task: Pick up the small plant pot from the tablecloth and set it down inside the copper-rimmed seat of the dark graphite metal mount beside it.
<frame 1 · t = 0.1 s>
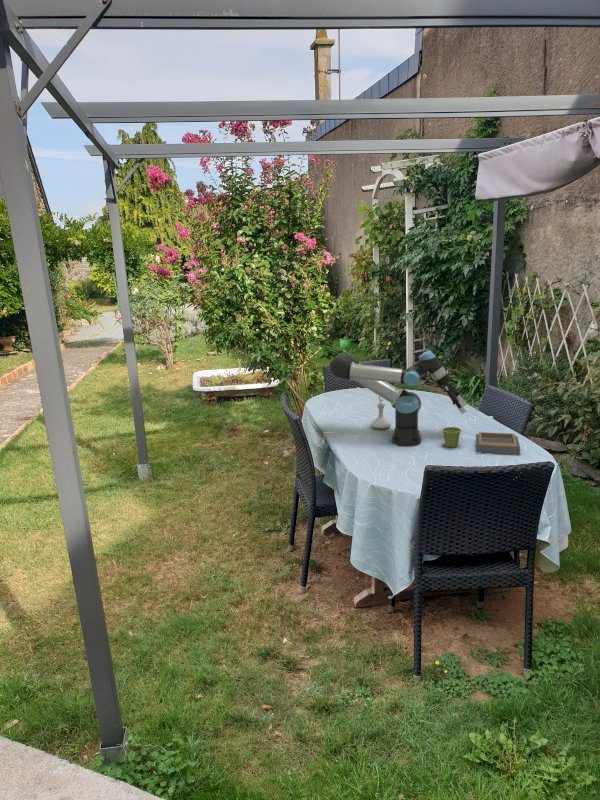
hand: (464, 409, 301), 15 cm above the table, tool tilted 35°, fingers open, 13 cm apart
flower in vase: (381, 427, 327), on the table
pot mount: (496, 448, 285), on the table
plant pot: (451, 446, 291), on the table
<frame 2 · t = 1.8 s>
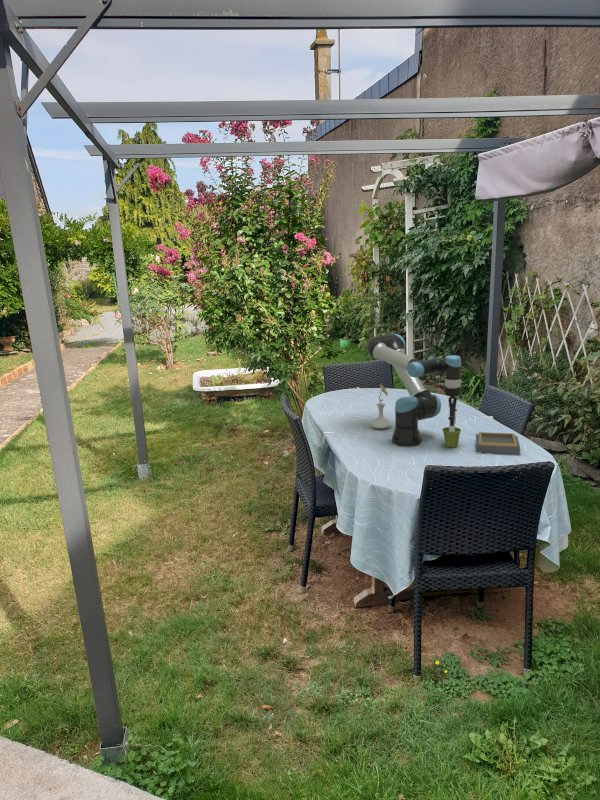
hand: (452, 427, 288), 10 cm above the table, tool pointing down, fingers open, 13 cm apart
nothing on the table moved.
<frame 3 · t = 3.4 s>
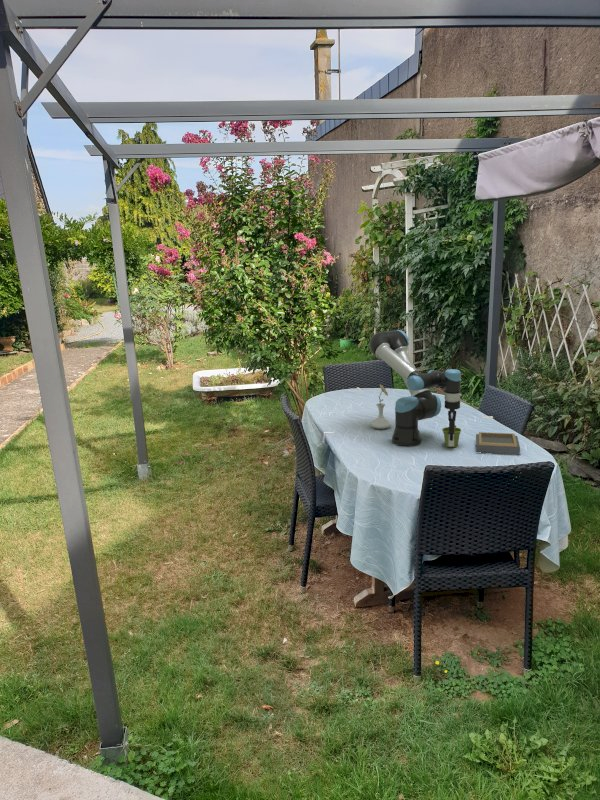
hand: (451, 442, 291), 2 cm above the table, tool pointing down, fingers closed on plant pot, 9 cm apart
plant pot: (451, 446, 291), on the table, touching gripper
everything else where it was.
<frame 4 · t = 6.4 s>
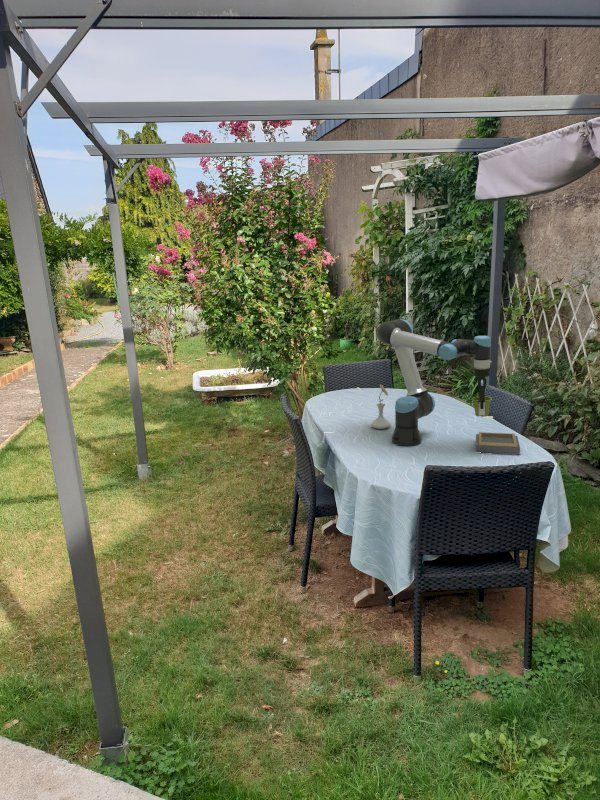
hand: (481, 412, 282), 18 cm above the table, tool pointing down, fingers closed on plant pot, 9 cm apart
plant pot: (481, 415, 282), point 17 cm above the table, touching gripper
everything else where it was.
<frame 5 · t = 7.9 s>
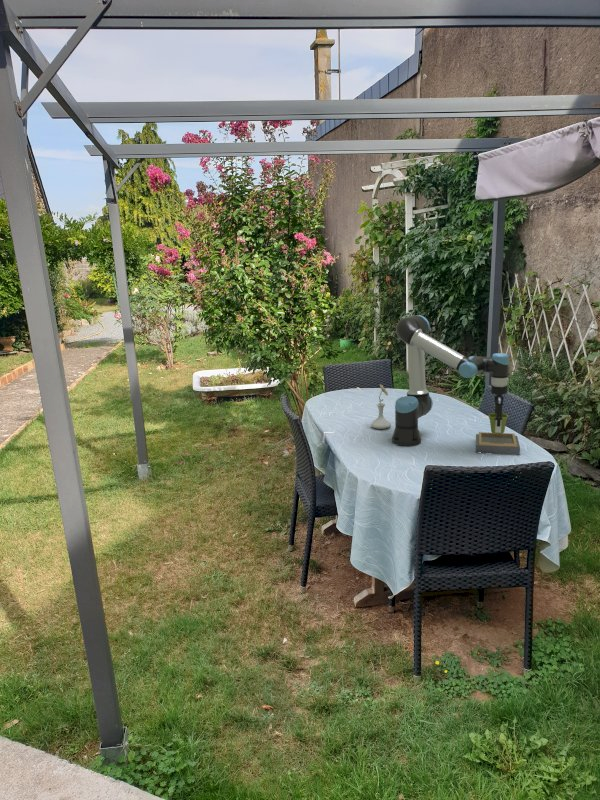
hand: (497, 429, 282), 10 cm above the table, tool pointing down, fingers closed on plant pot, 9 cm apart
plant pot: (497, 432, 283), point 8 cm above the table, touching gripper
everything else where it was.
when the fingers open (6 cm above the table, at t = 9.2 s): plant pot stays where it is, resting on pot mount.
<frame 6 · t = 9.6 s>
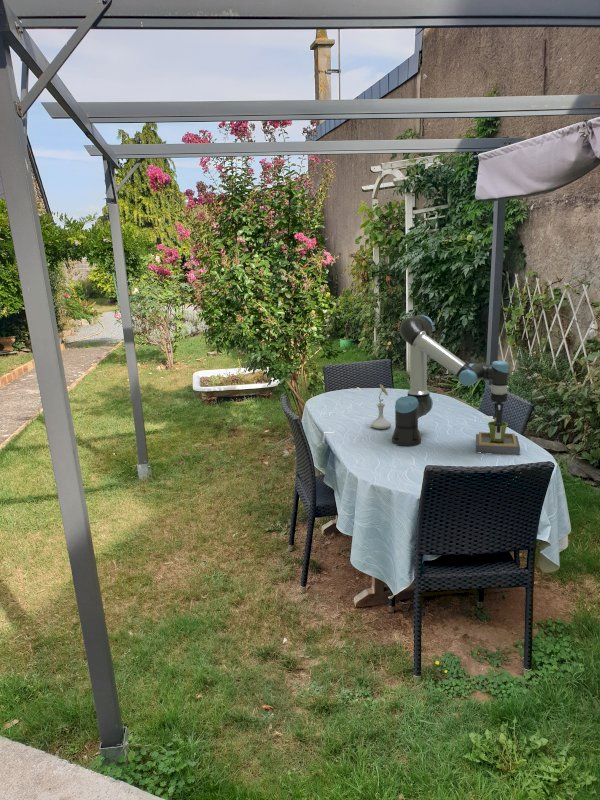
hand: (497, 434, 283), 7 cm above the table, tool pointing down, fingers open, 13 cm apart
plant pot: (497, 440, 284), point 4 cm above the table, touching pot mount
everything else where it was.
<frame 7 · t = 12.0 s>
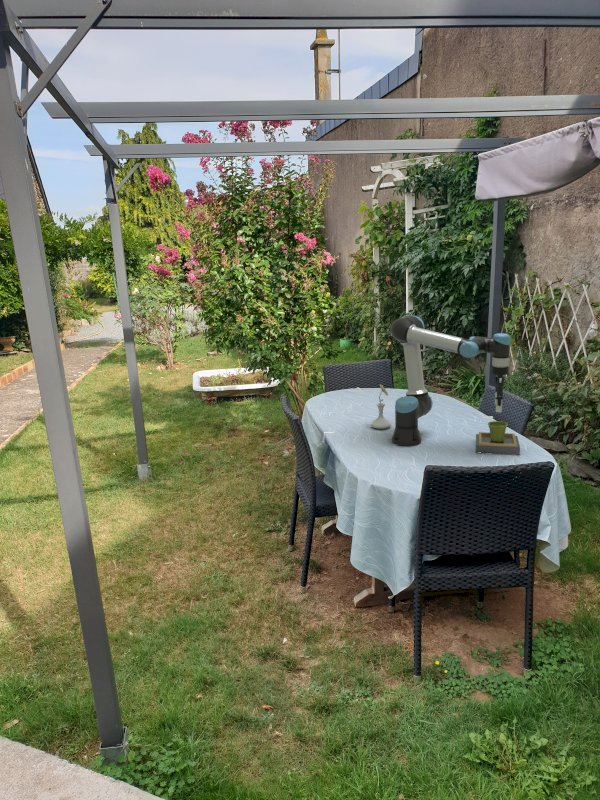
hand: (498, 408, 280), 21 cm above the table, tool pointing down, fingers open, 13 cm apart
nothing on the table moved.
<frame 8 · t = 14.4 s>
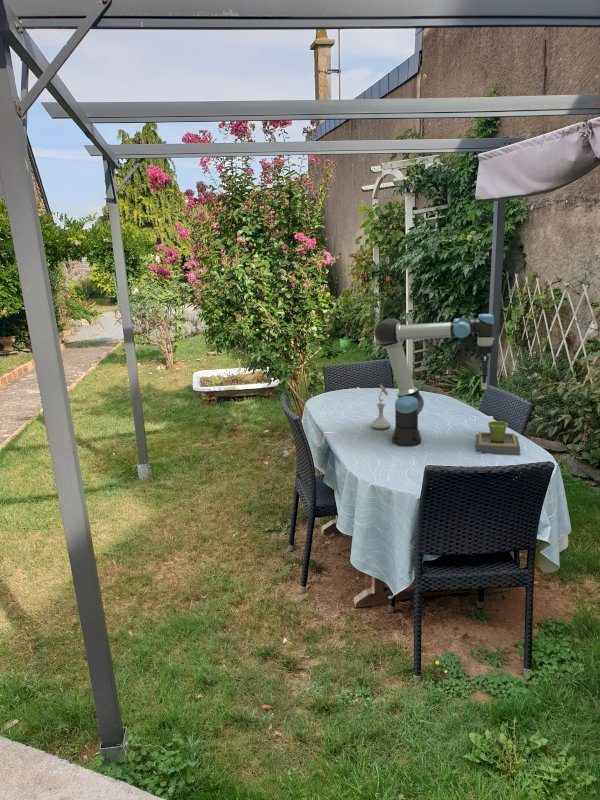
hand: (483, 386, 292), 29 cm above the table, tool pointing down, fingers open, 13 cm apart
nothing on the table moved.
at the end: plant pot 0.0 cm off-centre on the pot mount, point 3.8 cm above the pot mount's base; plant pot tilted 0°; the gripper is holding nothing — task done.
